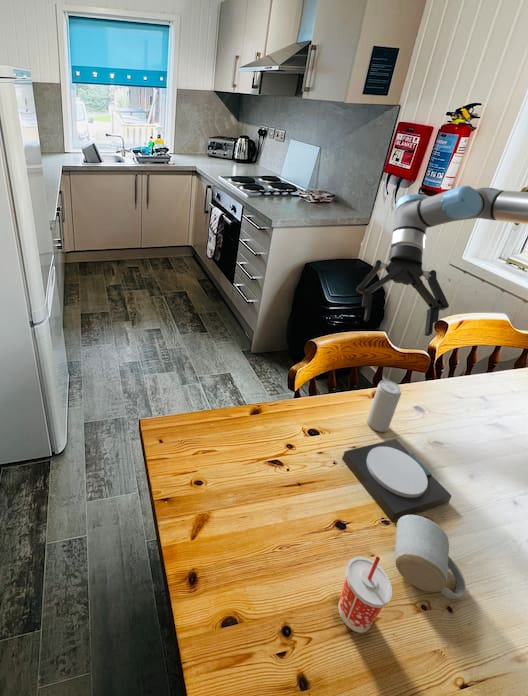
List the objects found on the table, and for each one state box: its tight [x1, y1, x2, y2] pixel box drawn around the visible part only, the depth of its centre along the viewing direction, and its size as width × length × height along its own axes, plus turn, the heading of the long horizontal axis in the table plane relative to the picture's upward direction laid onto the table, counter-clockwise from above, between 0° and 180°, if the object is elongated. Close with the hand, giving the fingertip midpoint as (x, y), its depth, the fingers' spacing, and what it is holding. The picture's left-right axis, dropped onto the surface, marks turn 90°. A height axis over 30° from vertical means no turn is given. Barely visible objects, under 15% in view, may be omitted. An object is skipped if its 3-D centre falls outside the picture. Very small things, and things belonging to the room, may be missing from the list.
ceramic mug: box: [394, 514, 467, 600], centre depth 65 cm, size 11×8×8 cm
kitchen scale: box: [341, 438, 452, 522], centre depth 82 cm, size 14×14×3 cm
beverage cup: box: [337, 556, 393, 634], centre depth 58 cm, size 6×6×14 cm
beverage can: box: [366, 379, 402, 433], centre depth 93 cm, size 5×5×12 cm
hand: (396, 327), depth 96 cm, fingers open, 13 cm apart
